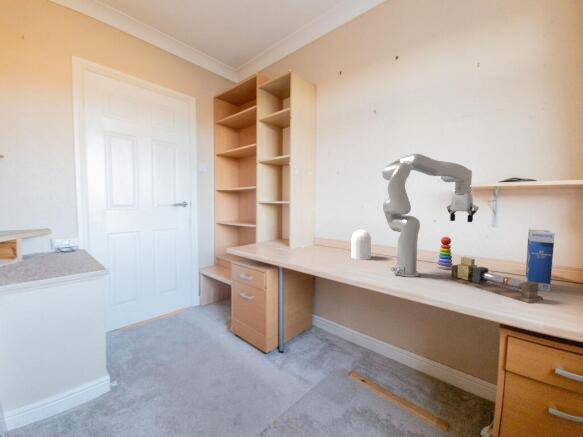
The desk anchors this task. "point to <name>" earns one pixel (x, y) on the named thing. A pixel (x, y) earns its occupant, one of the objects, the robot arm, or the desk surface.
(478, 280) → the grey square collar
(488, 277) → the pipe
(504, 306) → the desk surface
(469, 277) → the sleeve
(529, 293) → the stand
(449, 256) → the stacking toy
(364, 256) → the container
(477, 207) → the robot arm
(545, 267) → the string lights box
